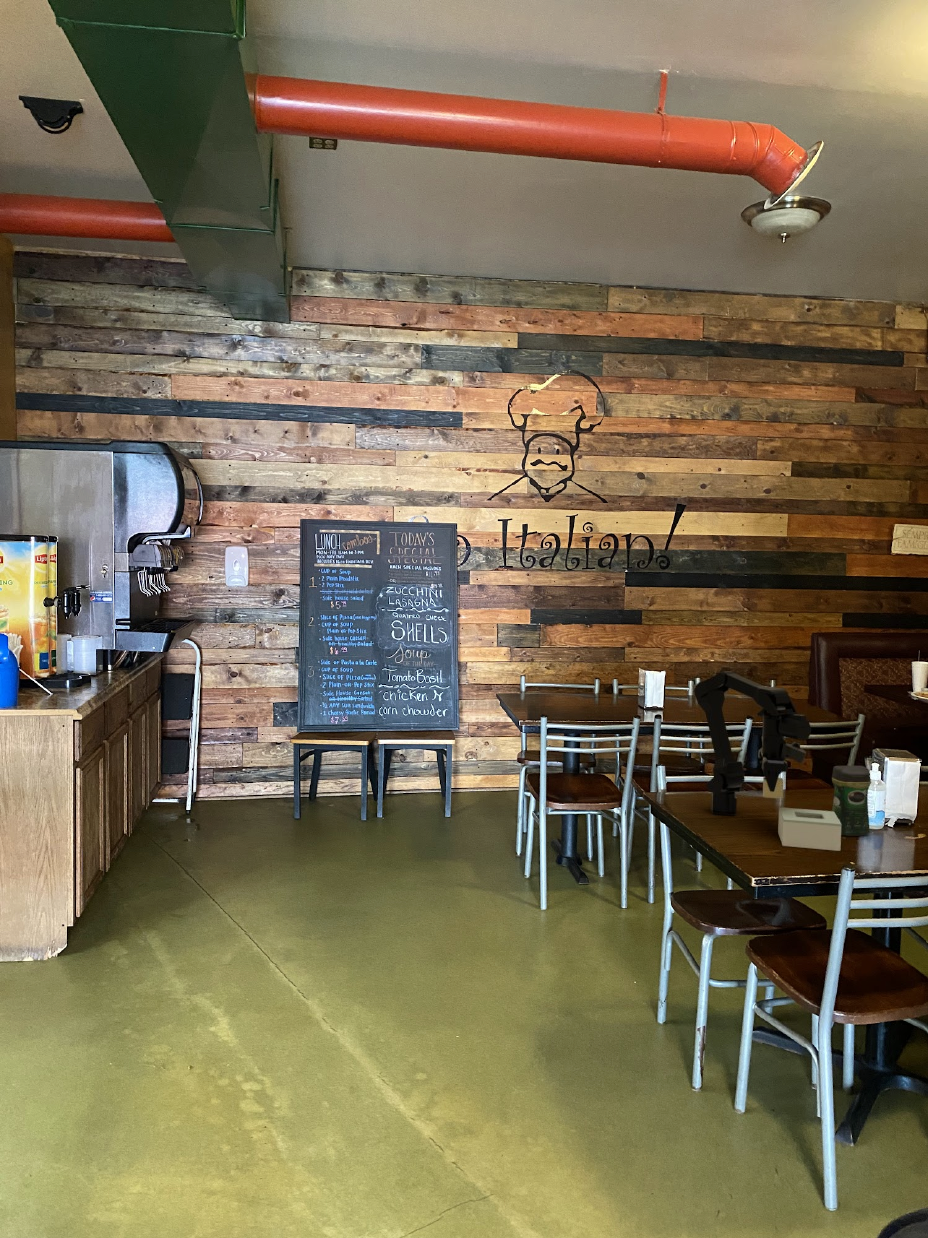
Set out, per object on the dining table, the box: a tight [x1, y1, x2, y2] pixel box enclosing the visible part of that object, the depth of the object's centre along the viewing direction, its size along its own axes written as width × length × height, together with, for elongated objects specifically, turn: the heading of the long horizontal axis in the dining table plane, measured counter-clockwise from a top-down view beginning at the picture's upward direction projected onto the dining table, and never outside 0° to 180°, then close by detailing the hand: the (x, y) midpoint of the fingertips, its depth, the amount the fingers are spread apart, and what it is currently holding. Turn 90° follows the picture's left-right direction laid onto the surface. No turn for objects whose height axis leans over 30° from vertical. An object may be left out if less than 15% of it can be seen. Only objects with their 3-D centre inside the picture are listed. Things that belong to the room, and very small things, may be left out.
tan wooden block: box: [762, 776, 784, 799], centre depth 242 cm, size 5×3×5 cm, turn 75°
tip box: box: [777, 806, 842, 852], centre depth 232 cm, size 14×12×7 cm
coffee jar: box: [831, 765, 872, 837], centre depth 240 cm, size 10×8×19 cm
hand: (771, 790), depth 242 cm, fingers closed on tan wooden block, 3 cm apart
